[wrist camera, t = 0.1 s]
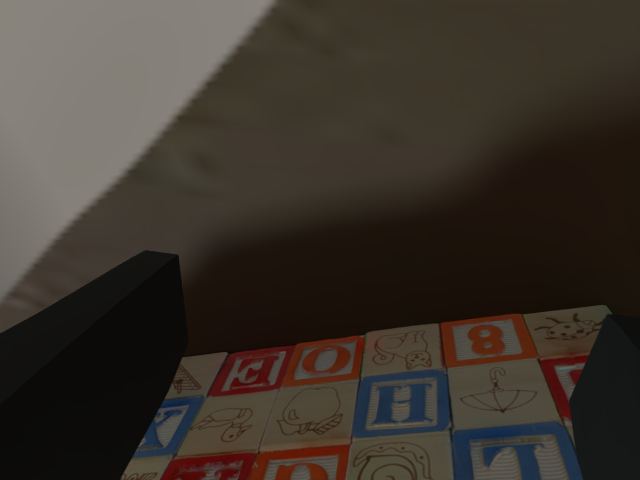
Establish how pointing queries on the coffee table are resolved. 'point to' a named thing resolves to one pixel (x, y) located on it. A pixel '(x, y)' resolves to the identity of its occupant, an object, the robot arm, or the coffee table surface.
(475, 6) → the coffee table surface
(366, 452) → the stack of blocks
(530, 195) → the coffee table surface
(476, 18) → the coffee table surface
